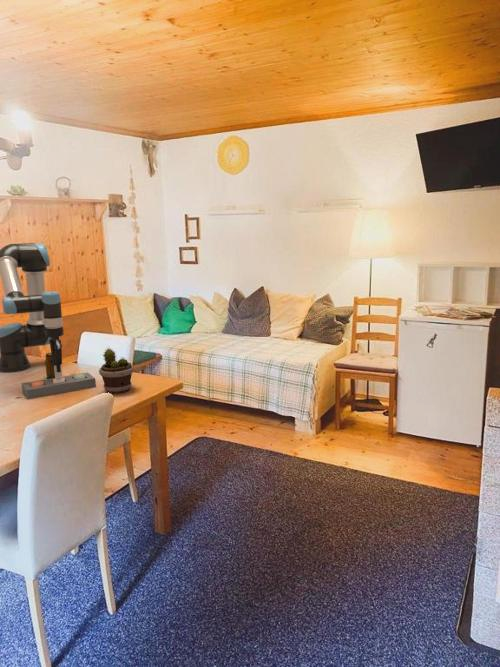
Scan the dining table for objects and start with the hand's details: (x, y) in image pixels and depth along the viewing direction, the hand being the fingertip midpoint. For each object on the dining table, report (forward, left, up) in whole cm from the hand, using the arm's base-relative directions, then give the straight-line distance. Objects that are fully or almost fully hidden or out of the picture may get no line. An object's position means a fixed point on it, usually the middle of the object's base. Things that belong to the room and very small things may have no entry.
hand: (58, 378), depth 221 cm
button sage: (0, +9, -4) cm, 10 cm away
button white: (0, 0, -4) cm, 4 cm away
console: (0, 0, -5) cm, 5 cm away
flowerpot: (+17, +21, -5) cm, 28 cm away
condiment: (-21, +2, -5) cm, 22 cm away
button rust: (0, -9, -4) cm, 10 cm away
